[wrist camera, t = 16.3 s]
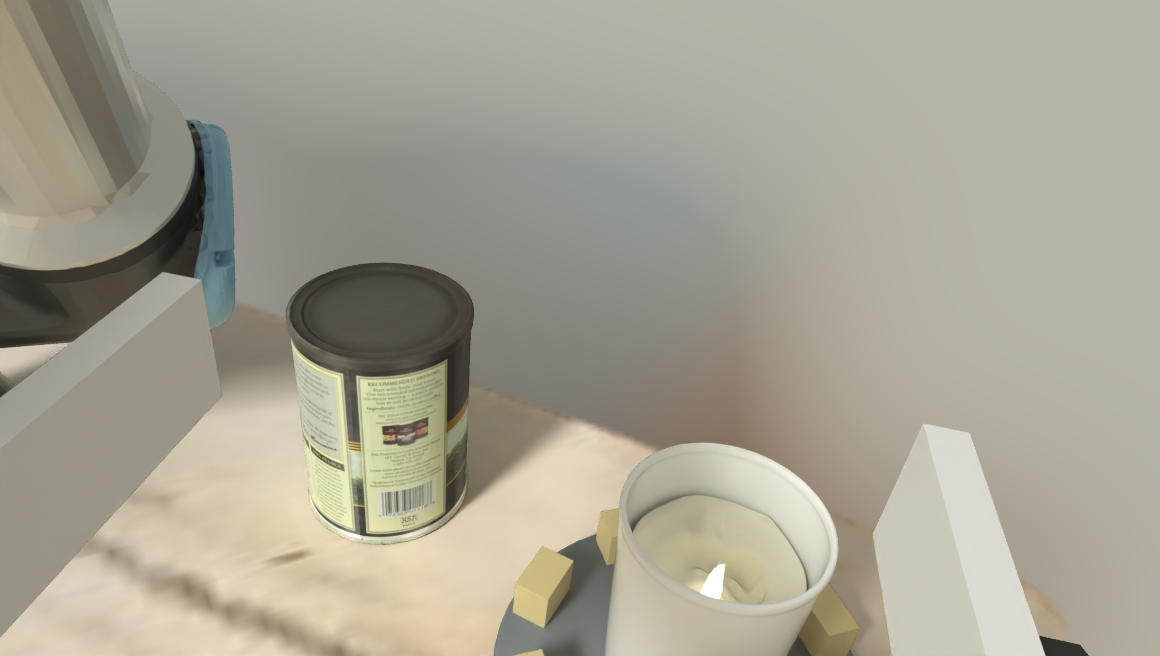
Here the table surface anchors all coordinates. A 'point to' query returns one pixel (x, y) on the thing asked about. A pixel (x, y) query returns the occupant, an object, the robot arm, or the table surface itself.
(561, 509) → the table surface
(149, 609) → the table surface
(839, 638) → the ring seat
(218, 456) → the table surface
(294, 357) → the coffee can
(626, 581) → the candle holder
